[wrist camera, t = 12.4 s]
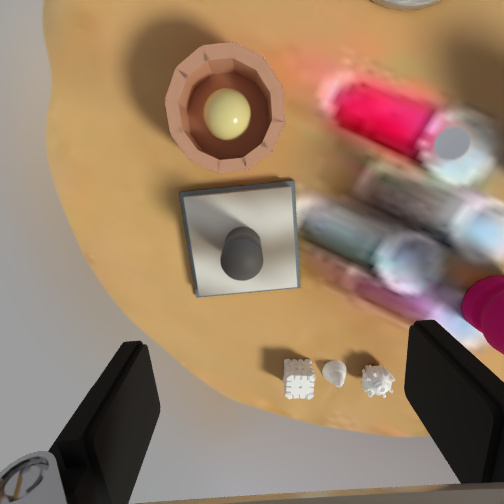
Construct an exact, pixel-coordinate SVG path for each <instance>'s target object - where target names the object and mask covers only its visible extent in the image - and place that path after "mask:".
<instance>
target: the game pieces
mask: <svg viewBox="0 0 504 504" xmlns="http://www.w3.org/2000/svg"><path fill="white" fill-rule="evenodd" d="M311 362H312V361H311V360H310V359H305V360H304V361H303V359H298V361H297V359H292V361H291V359H285V360H284V376H283V383H284V390H285V397H287V398H288V399H291V398H292V396H293V398H298V397H300V398H303V399H305V396H306V399H308V400H309V399H311V398H312V397H313V396H314V394H313V390H314V388H313V387H314V381H315V372H313V368H312V364H311ZM368 366H369V367H368ZM381 366H382V368H381ZM381 366H379V365H378V366H371V364H370V365H366V366H365V368H366V370H365V369H363V370H362V373H363V375H362V379H361V384H362V387H363V390H364V392H367V393H368V396H369V397H372V396H373V395H374V394H376V395H381V394H382V396H383V397H384V398H385V397H386V395H385V393H386V392H387V391H389V392H391V393H392V392H393V390H392V388H391V383H392V382H393V381H395V378H394V377H393V376H392V374H391V373H390V372H389V371H388V370H387V369H386V368H385V367H384V366H383V365H381ZM346 371H347V368H346V366H345V364H344V363H343V362H341V361H337V360H334V361H330V362H328V363H326V364H325V366H324V367H323V370H322V373H323V376H324V377H325V378H326V379H327V380H328V381H330V382H332V383H333V384H334V385H335V386H337V387H341V386H342V385H343V383H344V379H345V376H346ZM362 380H363V381H362Z"/></svg>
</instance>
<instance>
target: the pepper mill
mask: <svg viewBox="0 0 504 504" xmlns="http://www.w3.org/2000/svg"><path fill="white" fill-rule="evenodd" d="M462 313H463V316H464V318H465V319H466V321H467V322H468V323H469V324H471V325H472V326H473V327H475V328H476V329H477V330H479V331H480V332H482V333H483V335H484V337H485V339H486V340H487V342H488V343H489V344H490V345H491V346H492V347H493V348H495V349H496V350H498V351H499V352H501V353H502V354H504V276H492V277H487V278H485V279H482V280H480V281H478V282H477V283H475V284H474V285H473V286H472V287H471V288H470V289H469V290H468V291H467V293H466V295H465V297H464V299H463V302H462Z"/></svg>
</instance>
